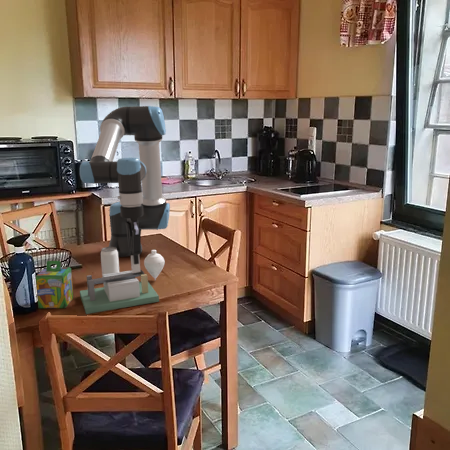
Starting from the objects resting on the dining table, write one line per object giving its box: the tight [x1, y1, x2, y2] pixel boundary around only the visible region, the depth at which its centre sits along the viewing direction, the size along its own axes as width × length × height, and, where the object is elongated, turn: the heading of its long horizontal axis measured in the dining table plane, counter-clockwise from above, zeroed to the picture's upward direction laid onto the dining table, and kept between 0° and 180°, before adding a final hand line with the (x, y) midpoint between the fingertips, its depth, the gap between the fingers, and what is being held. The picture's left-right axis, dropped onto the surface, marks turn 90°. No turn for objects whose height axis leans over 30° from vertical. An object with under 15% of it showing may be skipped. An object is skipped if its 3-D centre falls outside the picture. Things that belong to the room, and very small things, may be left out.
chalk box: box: [35, 260, 74, 309], centre depth 157 cm, size 9×9×15 cm
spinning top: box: [143, 249, 165, 281], centre depth 177 cm, size 8×8×12 cm
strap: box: [89, 268, 145, 285], centre depth 160 cm, size 3×18×2 cm, turn 113°
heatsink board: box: [79, 269, 160, 315], centre depth 160 cm, size 16×24×9 cm, turn 113°
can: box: [100, 246, 120, 278], centre depth 179 cm, size 6×6×12 cm
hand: (136, 272), depth 162 cm, fingers closed
